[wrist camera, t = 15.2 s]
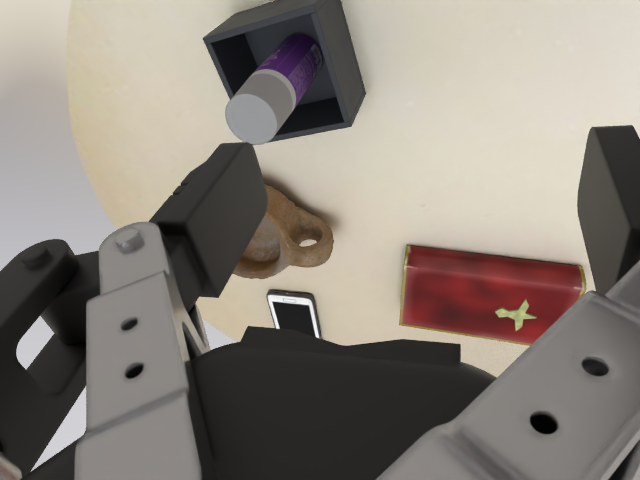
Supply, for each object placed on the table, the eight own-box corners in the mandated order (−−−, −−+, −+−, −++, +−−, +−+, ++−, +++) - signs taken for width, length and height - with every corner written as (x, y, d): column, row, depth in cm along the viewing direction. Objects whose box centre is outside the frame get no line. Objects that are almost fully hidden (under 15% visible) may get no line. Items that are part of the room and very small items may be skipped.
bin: (234, 14, 49) (202, 38, 44) (335, -19, 45) (314, 4, 39) (273, 113, 55) (250, 146, 50) (366, 93, 51) (351, 126, 45)
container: (291, 22, 48) (233, 81, 37) (332, 46, 48) (287, 111, 37) (274, 63, 51) (217, 128, 40) (313, 85, 51) (267, 155, 40)
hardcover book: (407, 242, 63) (403, 264, 60) (582, 263, 58) (587, 288, 55) (402, 304, 70) (398, 326, 67) (556, 327, 66) (560, 352, 63)
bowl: (321, 155, 56) (305, 225, 50) (349, 226, 67) (338, 289, 61) (190, 166, 62) (163, 229, 56) (236, 229, 72) (217, 287, 67)
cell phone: (313, 293, 74) (311, 298, 73) (325, 352, 83) (323, 357, 82) (266, 288, 76) (264, 293, 75) (283, 347, 85) (281, 351, 84)
